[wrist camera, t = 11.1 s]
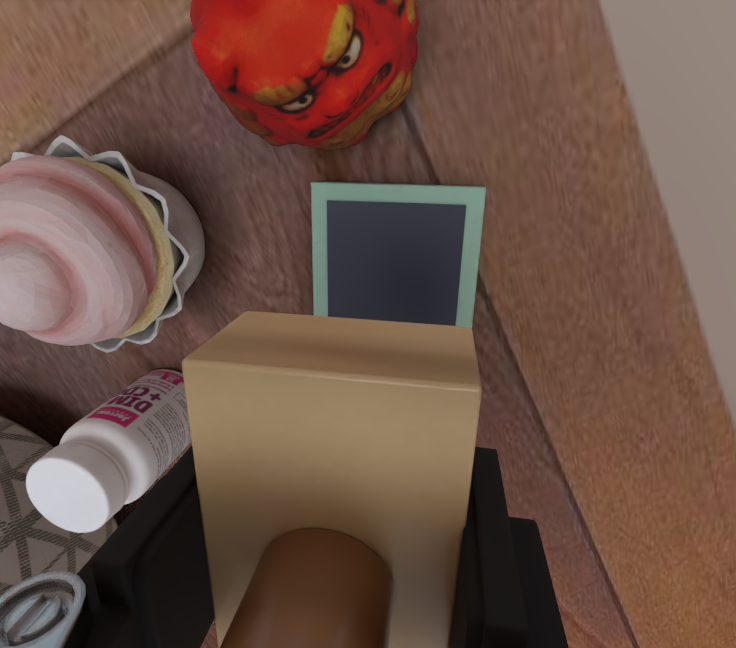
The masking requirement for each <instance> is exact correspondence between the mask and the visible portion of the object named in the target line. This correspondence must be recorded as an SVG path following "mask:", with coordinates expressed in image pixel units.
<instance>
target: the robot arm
mask: <svg viewBox="0 0 736 648" xmlns="http://www.w3.org/2000/svg"><path fill="white" fill-rule="evenodd" d="M214 618H215V617H214V609H213V602H212V594H211V586H210V579H209V571H208V563H207V556H206V548H205V540H204V532H203V525H202V517H201V509H200V502H199V494H198V487H197V479H196V471H195V464H194V456H193V448H192V446H191V447H190V448H189V449H188V450H187V452H186V453H185V454H184V455H183V456H182V457H181V458H180V460H179V461H178V462H177V463H176V464H175V465H174V466H173V468H172V469H171V470H170V471H169V472H168V473H167V474H166V475H165V476H164V477H163V478H161V479H160V480H159V481H158V482H157V484H156V485H155V486H154V487H153V488H152V489H151V490H150V491H149V493H148V494H147V495H146V496H145V497H144V498H143V499H142V501H141V502H140V503H139V504H138V505H137V506H136V507H135V508H134V510H133V511H132V512H131V513H130V514H129V515H128V516H127V518H126V519H125V520H124V521H123V522H122V523H121V524H120V525H119V527H118V528H117V529H116V530H115V531H114V532H113V533H112V535H111V536H110V537H109V538H108V539H107V540H106V541H105V543H104V544H103V545H102V546H101V547H100V548H99V549H98V550H97V552H96V553H95V554H94V555H93V556H92V557H91V558H90V560H89V561H88V562H87V563H86V564H85V565H84V566H83V567H82V569H81V570H80V571H79V572H78V573H77V574H74V573H71V572H65V571H54V572H48V573H42V574H39V575H37V576H34V577H31V578H28V579H26V580H24V581H22V582H20V583H18V584H17V585H15V586H13V587H11V588H9V589H8V590H7V591H6V592H4V593H3V594H2V595H0V648H200V646H201V644H202V642H203V640H204V638H205V636H206V634H207V632H208V630H209V628H210V626H211V624H212V622H213V620H214ZM449 648H568V644H567V640H566V636H565V632H564V628H563V624H562V620H561V616H560V612H559V608H558V604H557V601H556V597H555V593H554V589H553V585H552V581H551V577H550V573H549V569H548V565H547V561H546V557H545V553H544V549H543V545H542V541H541V537H540V533H539V529H538V526H537V524H536V522H535V521H534V520H531V519H523V518H515V517H509V516H508V511H507V505H506V500H505V494H504V488H503V483H502V477H501V471H500V466H499V460H498V455H497V450H496V449H489V448H480V447H475V453H474V461H473V469H472V477H471V486H470V494H469V502H468V510H467V519H466V526H465V528H464V530H463V538H462V547H461V555H460V564H459V572H458V580H457V589H456V597H455V605H454V614H453V622H452V630H451V639H450V647H449Z"/></svg>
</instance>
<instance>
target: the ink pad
mask: <svg viewBox="0 0 736 648" xmlns="http://www.w3.org/2000/svg"><path fill="white" fill-rule="evenodd" d="M485 196H486V187H485V186H465V185H430V184H395V183H360V182H325V181H314V182H311V218H312V266H313V314H314V316H325V317H339V318H353V319H367V320H380V321H394V322H408V323H421V324H435V325H449V326H463V327H469V328H471V329H472V322H473V313H474V303H475V293H476V283H477V274H478V264H479V254H480V245H481V235H482V225H483V216H484V206H485Z"/></svg>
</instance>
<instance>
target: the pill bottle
mask: <svg viewBox="0 0 736 648" xmlns="http://www.w3.org/2000/svg"><path fill="white" fill-rule="evenodd" d="M191 442H192V440H191V433H190V425H189V417H188V410H187V402H186V394H185V387H184V379H183V374H182V373H180V372H177V371H174V370H168V369H160V370H154V371H151V372H149V373H147V374H145V375H144V376H142V377H141V378H139V379H138V380H136V381H135V382H133V383H132V384H131V385H129V386H128V387H126V388H125V389H123V390H122V391H120V392H119V393H118V394H116V395H115V396H113V397H112V398H111V399H109V400H108V401H106V402H105V403H103V404H102V405H100V406H99V407H98V408H96V409H95V410H93V411H92V412H91V413H89V414H88V415H86V416H85V417H83V418H82V419H81V420H79V421H78V422H76V423H75V424H74V425H73V426H71V427H70V428H69V429H68V430H67V431H66V432H65V434H64V435H63V437H62V439H61V441H60V444H59V445H58V446H56V447H54V448H53V449H51V450H50V451H49V452H48V453H46V454H45V455H44V456H43V457H41V458H40V459H39V460H38V461H36V462H35V463H34V464H33V465H32V466H31V467H30V469H29V471H28V473H27V476H26V489H27V493H28V495H29V498H30V500H31V502H32V503H33V505H34V506H35V507H36V509H37V510H38V511H39V512H40V513H41V514H42V515H43V516H44V517H45V518H46V519H47V520H49V521H50V522H51V523H53V524H55V525H56V526H58V527H61V528H63V529H65V530H68V531H72V532H76V533H87V532H92V531H95V530H97V529H99V528H100V527H102V526H103V525H104V524H105V523H106V522H107V521H108V520H109V519H110V518H111V517H112V516H113V515H114V514H116V513H117V512H118V511H119V510H120V509H121V508H122V507H123V505H125V504H129V503H131V502H133V501H135V500H137V499H138V498H139V497H141V496H142V495H143V494H144V493H145V492H146V491H147V490H148V489H149V488H150V487H151V486H152V484H153V483H154V482H155V481H156V480H157V479H158V478H159V477H160V476H161V474H162V473H163V472H164V471H165V470H166V469H167V468H168V466H169V465H170V464H171V463H172V462H173V461H174V460H175V459H176V458H177V457H178V456H179V454H180V453H181V452H182V451H183V450H184V449H185V448H186V447H187V446H188V445H189V444H190V443H191Z"/></svg>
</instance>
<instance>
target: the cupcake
mask: <svg viewBox="0 0 736 648" xmlns="http://www.w3.org/2000/svg"><path fill="white" fill-rule="evenodd" d="M204 257H205V241H204V234H203V229H202V225H201V222H200V220H199V218H198V216H197V214H196V212H195V211H194V209H193V207H192V206H191V205H190V203H189V202H188V201H187V199H186V198H185V197H184V196H183V195H182V193H181V192H179V191H178V190H177V189H175V188H174V187H173V186H171V185H170V184H168V183H167V182H165V181H163V180H161V179H159V178H157V177H154V176H152V175H149V174H147V173H144V172H141V171H138V170H137V169H136V168H135V167H134V166H133V165H132V164H131V163H130V162H129V161H128V160H127V159H126V158H125V157H124V156H123V155H122V154H121V153H120V152H117V151H108V152H104V153H100V154H96V155H95V154H93V153H92V152H90V151H88V150H87V149H85V148H83V147H82V146H80V145H79V144H77V143H75V142H74V141H72V140H70V139H68V138H66V137H64V136H62V135H61V136H59V137H58V138H56V139H55V140H54V141H53V143H52V144H51V146H50V147H49V148H48V150H47V151H46V153H45V154H44V155H40V156H38V155H33V154H28V153H24V152H15V153H13V155H12V158H11V162H8V163H6V164H4V165H2V166H1V167H0V323H2V324H4V325H6V326H9V327H11V328H14V329H19V330H23V331H25V332H26V333H27V334H29V335H30V336H32V337H33V338H36V339H39V340H41V341H44V342H48V343H54V344H60V345H66V346H70V345H82V344H88V343H90V344H92V345H93V346H94V347H95V348H97V349H99V350H102V351H104V352H107V353H109V352H112V351H115V350H117V349H118V348H119V347H120V346H121V345H122V344H123V343H124V342H125V341H129V342H133V343H137V344H145V343H148V342H151V341H152V340H153V339H154V337H155V336H156V335H157V333H158V331H159V329H160V326H161V324H162V322H163V319H165V318H168V317H172V316H174V315H176V314H177V313H178V312H179V311H181V310H182V306H183V300H184V294H185V292H186V291H187V290H188V289H189V287H190V286H191V285H192V284H193V283H194V281H195V279H196V278H197V276H198V274H199V272H200V270H201V267H202V265H203V261H204Z"/></svg>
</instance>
